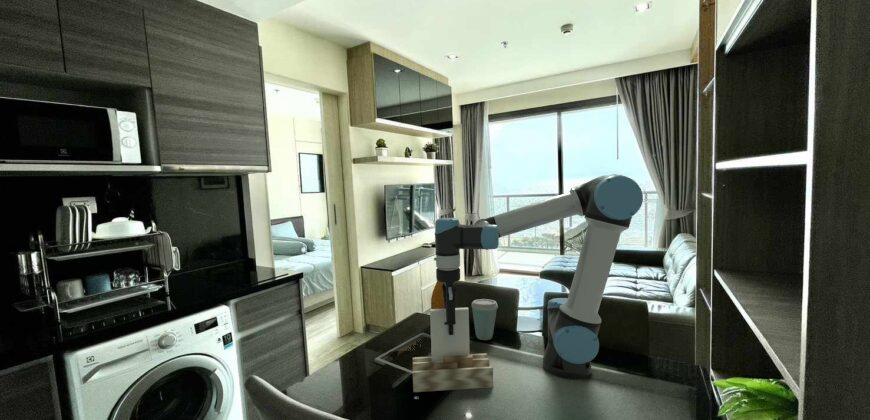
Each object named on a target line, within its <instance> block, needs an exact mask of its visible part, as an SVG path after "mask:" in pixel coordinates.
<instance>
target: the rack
mask: <svg viewBox="0 0 870 420" xmlns="http://www.w3.org/2000/svg"><path fill="white" fill-rule="evenodd" d="M470 355H472V356H473V368H458V369H441V370H434V363H443V361H432V356H417V357H416V356H415V357H412V371H413V374H412V389H413V393H421V392H437V391H438V392H439V391H453V390H467V389H468V390H469V389H472V390H473V389H487V388H494V367H493V366H490V358H489V357H488V353H470Z"/></svg>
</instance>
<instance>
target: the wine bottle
mask: <svg viewBox="0 0 870 420" xmlns="http://www.w3.org/2000/svg"><path fill="white" fill-rule="evenodd" d="M437 268H438V267H436V269H437ZM442 285H443V282H439V281H437V280H436V283H435V286H434V287H433V291H432V294H431V298H430V309H444V298H443V291H442Z"/></svg>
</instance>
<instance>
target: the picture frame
mask: <svg viewBox="0 0 870 420" xmlns="http://www.w3.org/2000/svg"><path fill="white" fill-rule="evenodd" d="M422 336H423V337H427V338H430V339H431V334H428V333H426V332H421V333H419V334H417V335H415V336H413V337H411V338H410V339H408V340H406V341H404V342H402V343H401V344H399V345H397V346H395V347H394V348H391V349H389V350H387V351H386V352H384V353H382V354H381V355H379V356H377V357H375V358H374V359H373V361H374V363H376V364H379V365H381V366H385V364H386V365H389V366H392V367H393V368H396V369H399V370H402V371H404V372H407V373H410V374H412V375H413V370H410V369H407V368H406V367H403V366H400V365H399V364H396V363H392V362H390V361H387V360H386V359H389V355H390V353H391V352H402V351H404V352H405V351H416V350H415V349H414V348H415V346H414V345H416V340H417V339H418V340H419V339H420V338H422ZM420 340H421V339H420ZM420 340H419V341H420ZM419 341H418V342H419ZM421 341H422V340H421ZM413 342H414V343H413ZM412 343H413V346H414V348H413V347H412V348H413V349H414V350H413V349H412V350H411V345H412ZM420 343H421V342H420ZM409 345H410V347H409ZM417 345H418V344H417ZM407 347H408V348H409V349H410V350H409V349H408V348H407ZM420 347H421V344H420ZM407 349H408V350H407Z"/></svg>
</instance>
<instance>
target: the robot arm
mask: <svg viewBox="0 0 870 420" xmlns="http://www.w3.org/2000/svg"><path fill="white" fill-rule="evenodd" d="M643 195H644V194H643V190H642V189H641V187H640V185H639V184H638V183H637V182H636V181H635V180H634V179H632V178H631V177H628V176H626V175H622V174H610V175H609V174H608V175H600V176H598V177H595V178H592V179H591V180H589V181H586V182H584V183H582V184H580V185H577V186H573V187H571V188H570V190H569V191H568V192H566V193H562V194H559V195H556V196H553V197H550V198H546V199H544V200H543V199H542V200H541V201H537V202H533V203H531V204H528V205H523V206H520V207H518V208H515V209H512V210H509V211H505V212H502V213H499V214H495V215H494V216H490V217H487V218H480V219H478V220H476V221H475V222H474V224H462V223H461V224H460V220H459V218H457V217H442V218H441V217H440V218H437V219H436V220H435V223H434V225H435V226H434V240H435V242H434V244H435V245H434V246H435V257H434V258H433V260H434V262H435V267H436V269H435V273H436V274H435V275H436V276H435V277H436V282H437V281H439V282H443V285H442V291H443V298H444V309H446V322H444V325H446V344H447V345H448V344H455V324H456V321H455V308H456V292H457V291H456V289H457V288H456V286H455V284H454V283H456V282H459V281H460V280H461V268H460V267H461V252H460V251H461V250H486V251H489V250H496V249H498V248H499V243H500V242H499V241H500V240H499V239H500V238H503V237H506V236H509V235H512V234H517V233H519V232H523V231H527V230H530V229H533V228H537V227H540V226H542V225H547V224H549V223H553V222H556V221H560V220H563V219H566V218H570V217H573V216H580V217H584V220H585V221H586V223H587V229H586V232H585V234H584V235H585V236H584V239H583V243H582V246H581V248H580V249H581V250H580V254H579V257H578V261H577V264H576V267H575V271H574V275H573V278H572V282H571V285H570V289H569V293H568V296H567V297H555V298H552V299H549V300H548V302H547V344H546V345H547V346H546V348H545V350H544V353H543V356H542V367H543V369H544V370H545V371H546V372H548V373H549V374H551V376H555V377H558V378H561V379H567V380H581V379H585V378H588V377H589V376H590V375H591V373H592V363H591V361H593V360H594V359H595V358H596V356H597V355H598V353H599V352H600V351H599V349H600V342H599V341H600V340H599V338H598V334H599V330H600V327H601V324H602V318H601V316H600V315H599V313H598V312H599V309H600V305H601V303H602V299H603V295H604V292H605V289H606V286H607V282H608V278H609V275H610V271H611V268H612V266H613V261H614V257H615V254H616V251H617V248H618V244H619V242H620V236H621V234H622V233H623V232H624V231H626V230H628V229H629V228H630V225H631V222H632V219H633V217H634V216H635V215H636V214H637V213H638V212H639V211H640V209H641V207H642V206H643V200H644V198H643V197H644V196H643ZM437 267H438V268H437Z"/></svg>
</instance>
